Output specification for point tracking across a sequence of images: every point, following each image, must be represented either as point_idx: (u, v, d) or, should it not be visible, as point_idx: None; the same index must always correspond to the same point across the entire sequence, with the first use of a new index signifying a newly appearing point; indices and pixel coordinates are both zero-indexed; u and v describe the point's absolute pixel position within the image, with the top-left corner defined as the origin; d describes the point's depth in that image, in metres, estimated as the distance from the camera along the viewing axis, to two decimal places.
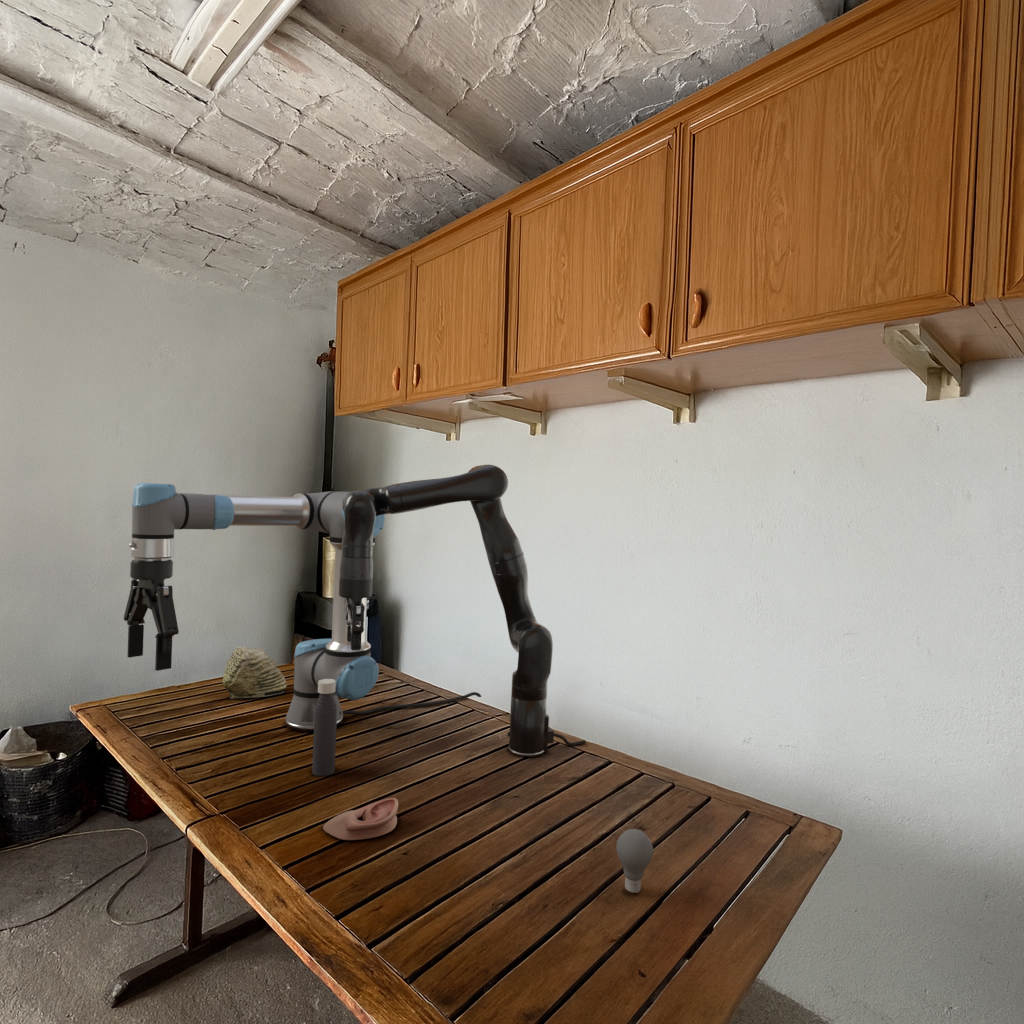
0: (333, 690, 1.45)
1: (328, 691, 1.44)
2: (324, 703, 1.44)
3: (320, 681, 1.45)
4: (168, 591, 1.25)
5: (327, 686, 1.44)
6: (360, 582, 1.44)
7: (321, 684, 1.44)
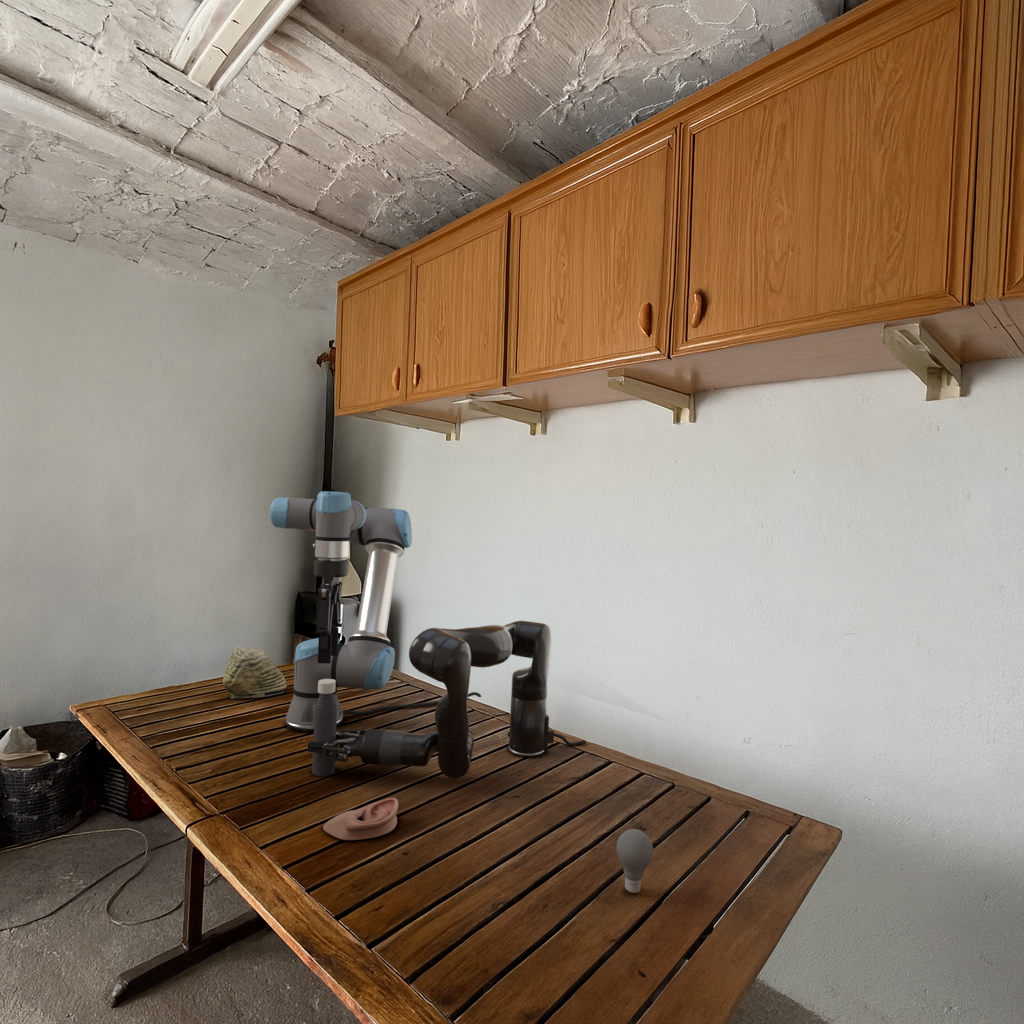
0: (333, 690, 1.45)
1: (328, 691, 1.44)
2: (324, 703, 1.44)
3: (320, 681, 1.45)
4: (325, 594, 1.39)
5: (327, 686, 1.44)
6: None
7: (321, 684, 1.44)
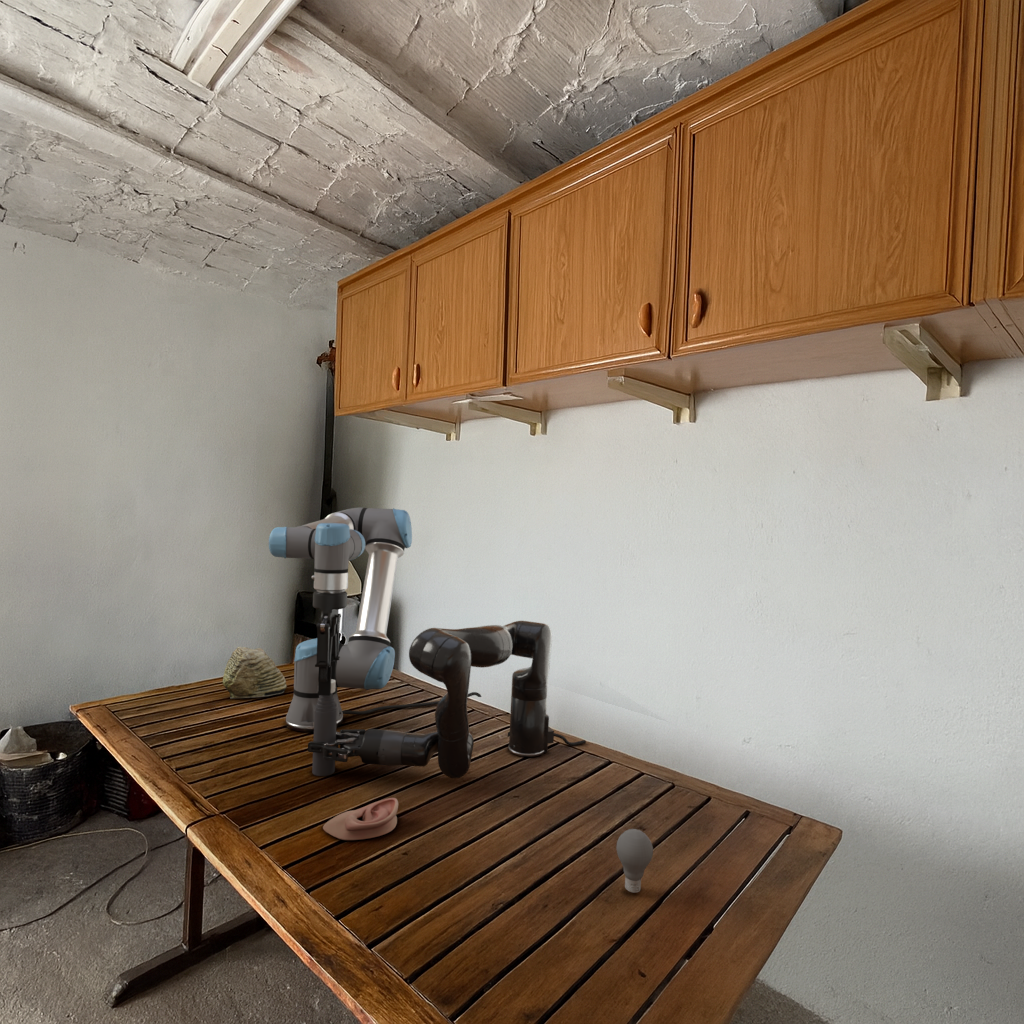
0: (333, 690, 1.45)
1: None
2: (324, 703, 1.44)
3: None
4: (324, 629, 1.39)
5: None
6: None
7: None
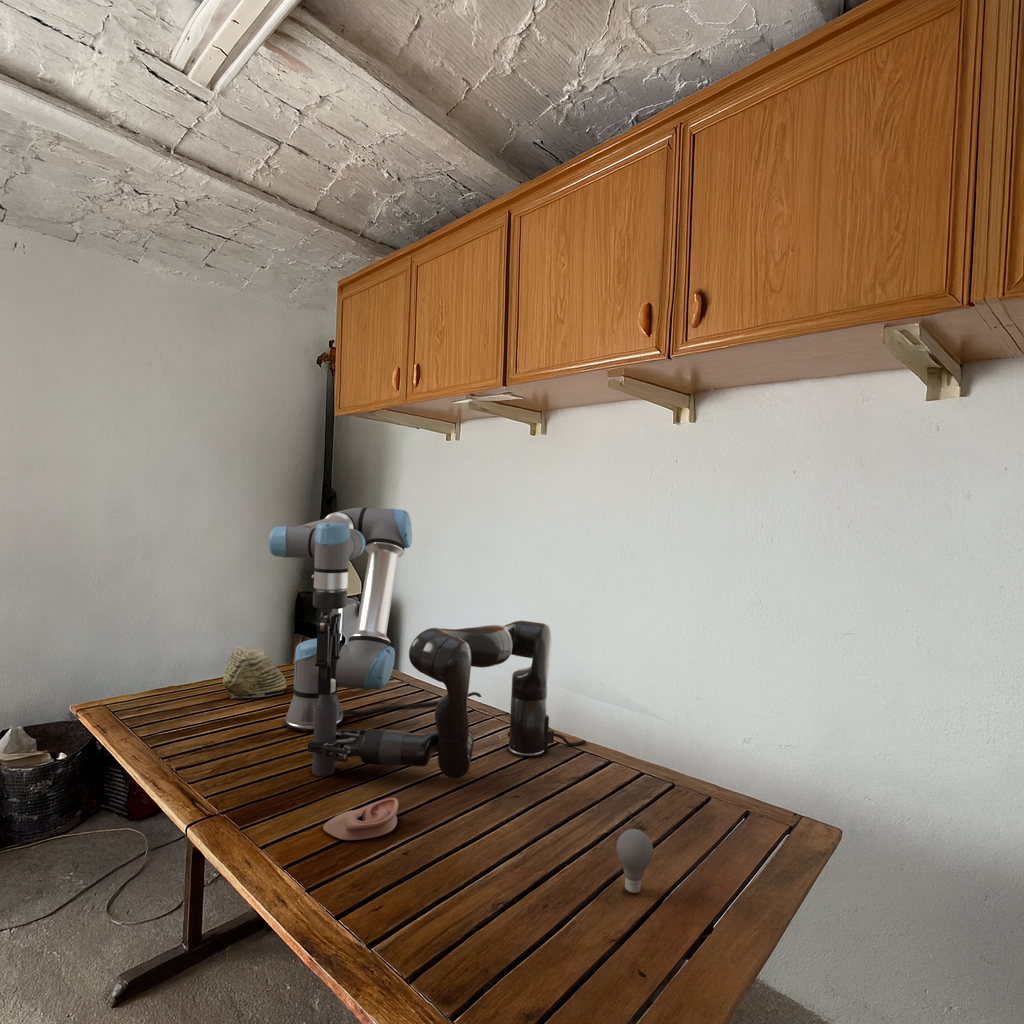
0: None
1: None
2: (324, 703, 1.44)
3: (331, 681, 1.45)
4: (324, 629, 1.39)
5: None
6: None
7: None
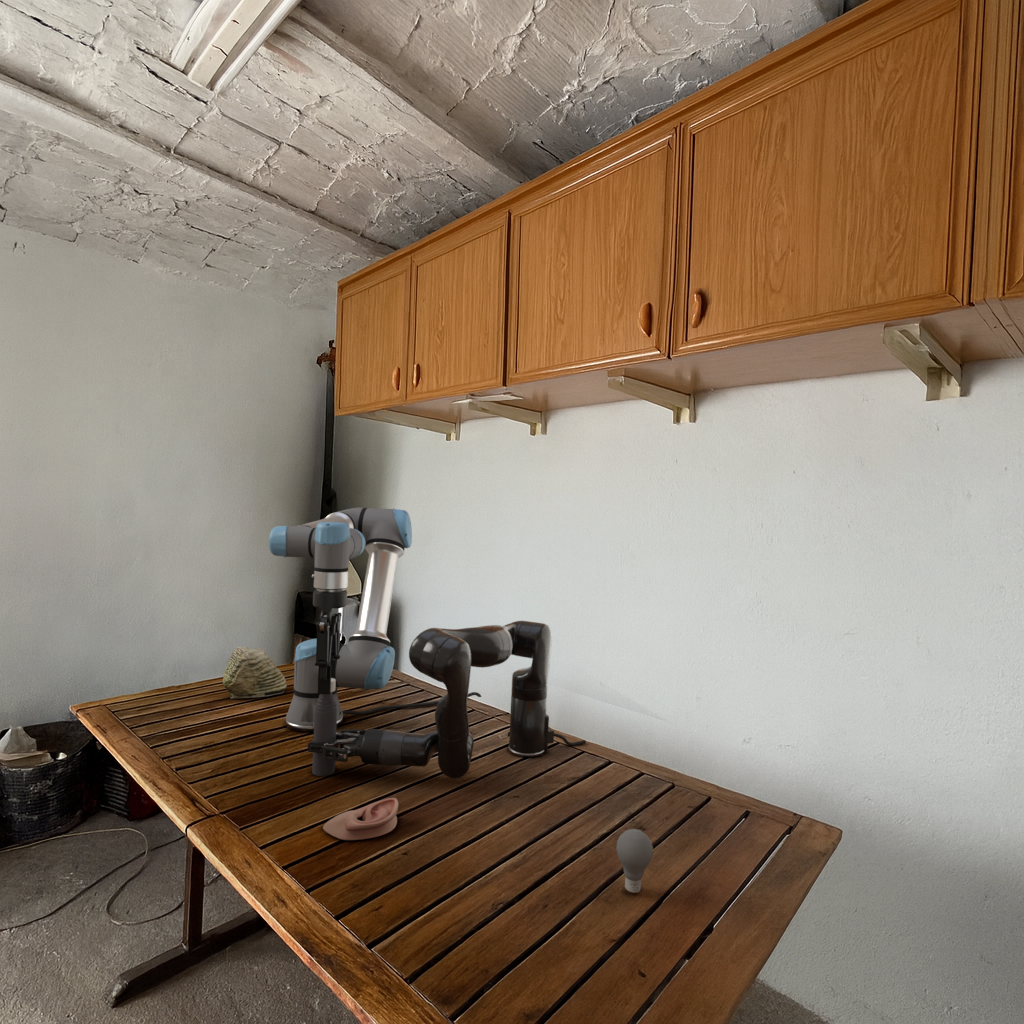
0: None
1: None
2: (324, 703, 1.44)
3: None
4: (323, 628, 1.39)
5: None
6: None
7: None
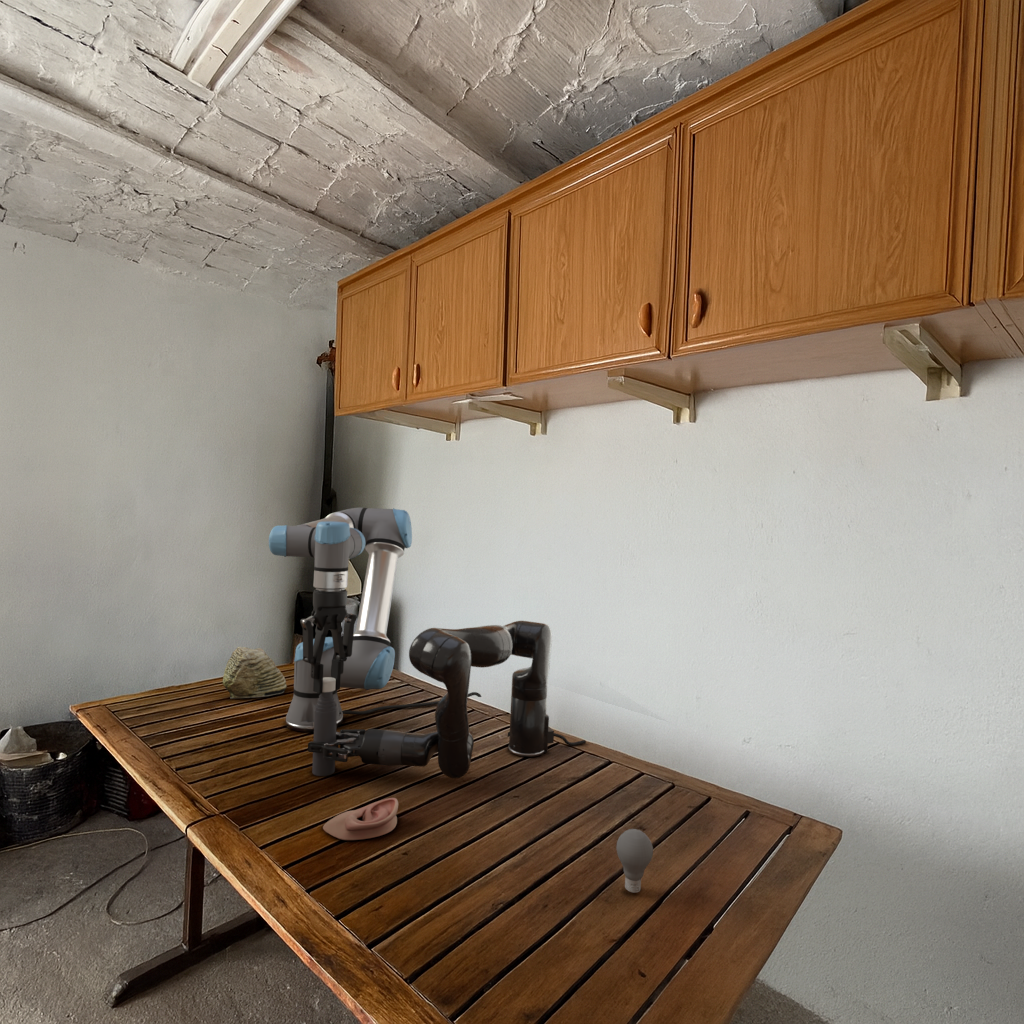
0: None
1: (333, 688, 1.45)
2: (324, 703, 1.44)
3: None
4: None
5: (333, 683, 1.45)
6: None
7: (328, 683, 1.44)
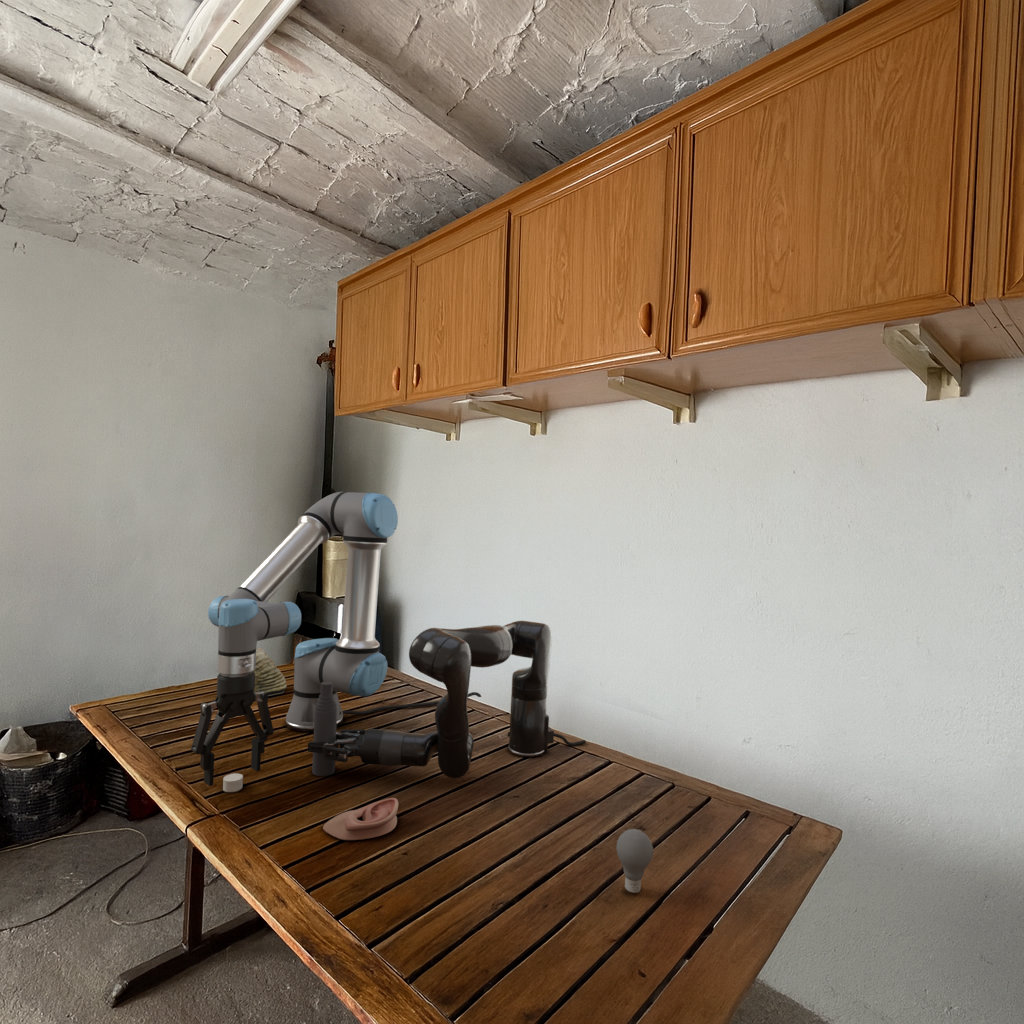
0: (242, 784, 1.37)
1: (240, 786, 1.35)
2: (324, 703, 1.44)
3: (227, 779, 1.35)
4: None
5: (240, 782, 1.35)
6: None
7: (233, 782, 1.34)
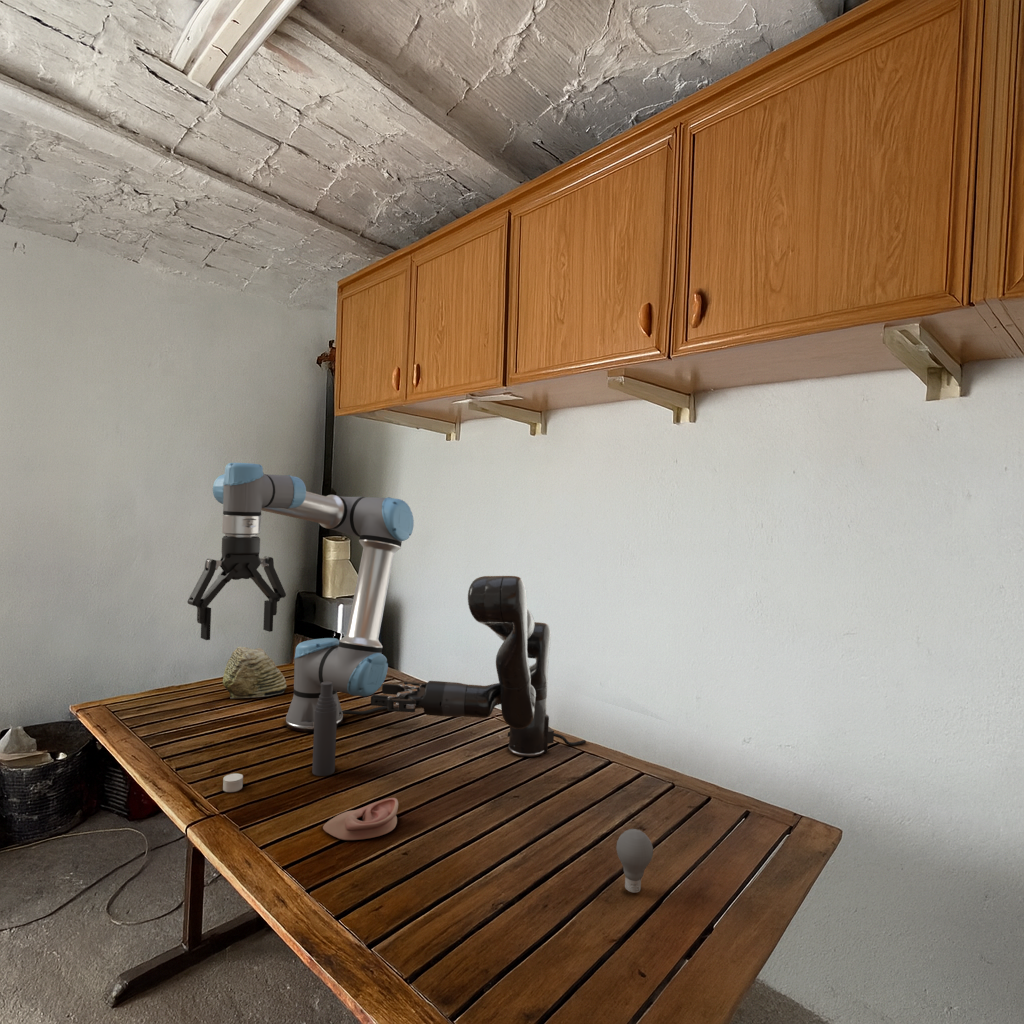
0: (242, 784, 1.37)
1: (240, 786, 1.35)
2: (324, 703, 1.44)
3: (227, 779, 1.35)
4: None
5: (240, 782, 1.35)
6: None
7: (233, 782, 1.34)
